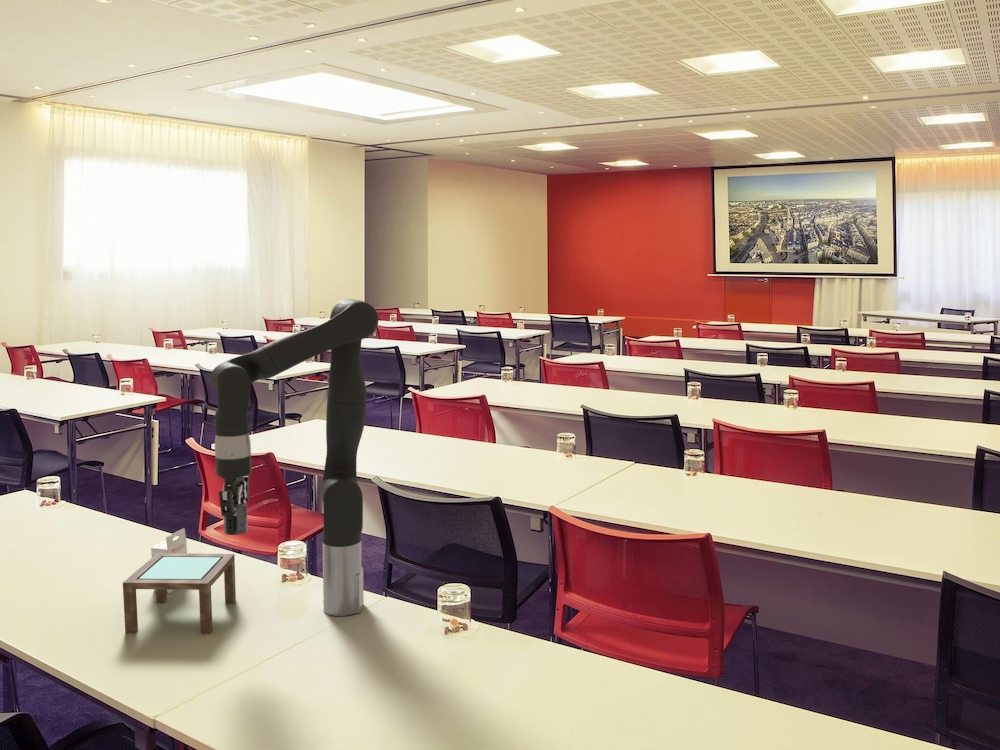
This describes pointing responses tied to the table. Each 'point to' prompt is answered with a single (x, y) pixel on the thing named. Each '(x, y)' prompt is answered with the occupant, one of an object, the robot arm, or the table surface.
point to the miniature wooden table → (180, 588)
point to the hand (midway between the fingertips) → (236, 527)
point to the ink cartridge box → (171, 546)
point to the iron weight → (239, 520)
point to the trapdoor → (181, 568)
